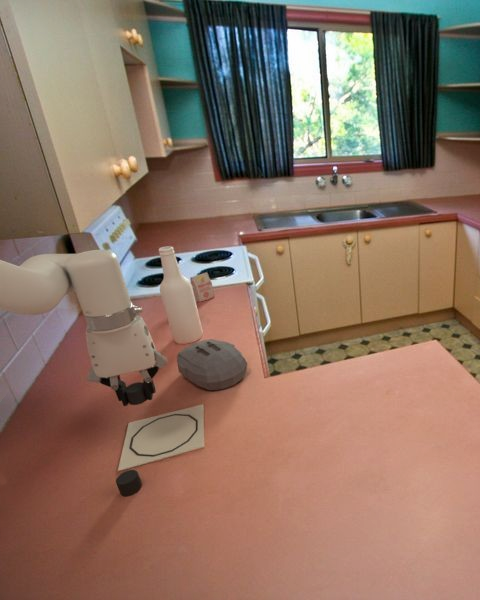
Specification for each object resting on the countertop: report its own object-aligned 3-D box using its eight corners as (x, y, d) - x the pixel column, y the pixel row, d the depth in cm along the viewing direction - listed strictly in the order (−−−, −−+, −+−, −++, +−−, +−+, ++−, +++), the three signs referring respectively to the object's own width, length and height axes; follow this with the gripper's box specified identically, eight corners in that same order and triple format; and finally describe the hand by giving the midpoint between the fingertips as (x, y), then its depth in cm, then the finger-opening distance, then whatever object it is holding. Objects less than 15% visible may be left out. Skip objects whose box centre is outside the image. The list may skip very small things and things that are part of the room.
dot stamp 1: (127, 407, 83) (123, 394, 82) (130, 397, 86) (125, 384, 85) (148, 402, 85) (144, 389, 84) (150, 392, 88) (146, 380, 87)
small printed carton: (193, 300, 164) (187, 276, 160) (209, 295, 169) (204, 271, 165) (198, 302, 162) (193, 278, 158) (214, 297, 167) (209, 273, 163)
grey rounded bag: (171, 374, 117) (209, 402, 105) (164, 348, 113) (201, 373, 102) (222, 352, 127) (261, 374, 116) (216, 327, 124) (256, 347, 112)
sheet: (118, 471, 85) (117, 470, 85) (129, 423, 98) (128, 422, 98) (204, 447, 91) (204, 445, 90) (203, 405, 104) (203, 403, 104)
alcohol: (167, 342, 134) (141, 251, 122) (188, 330, 141) (165, 242, 130) (189, 346, 131) (165, 253, 119) (209, 333, 139) (188, 244, 127)
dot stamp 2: (118, 499, 79) (114, 487, 77) (121, 485, 82) (117, 473, 80) (140, 492, 80) (136, 480, 79) (143, 478, 83) (138, 467, 82)
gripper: (162, 301, 84) (184, 379, 92) (62, 318, 78) (94, 400, 86) (160, 316, 78) (183, 398, 85) (51, 335, 72) (86, 422, 79)
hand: (138, 398), depth 86 cm, fingers closed on dot stamp 1, 3 cm apart
